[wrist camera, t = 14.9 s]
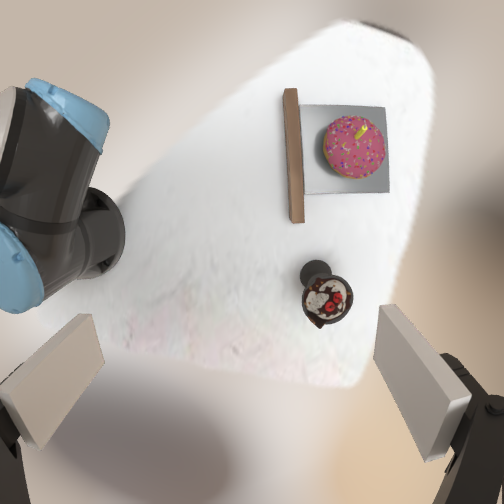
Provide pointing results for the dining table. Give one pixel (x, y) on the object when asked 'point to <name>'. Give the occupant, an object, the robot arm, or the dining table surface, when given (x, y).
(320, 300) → the sundae
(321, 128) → the board
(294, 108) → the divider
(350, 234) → the dining table surface
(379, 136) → the cupcake
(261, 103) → the dining table surface
